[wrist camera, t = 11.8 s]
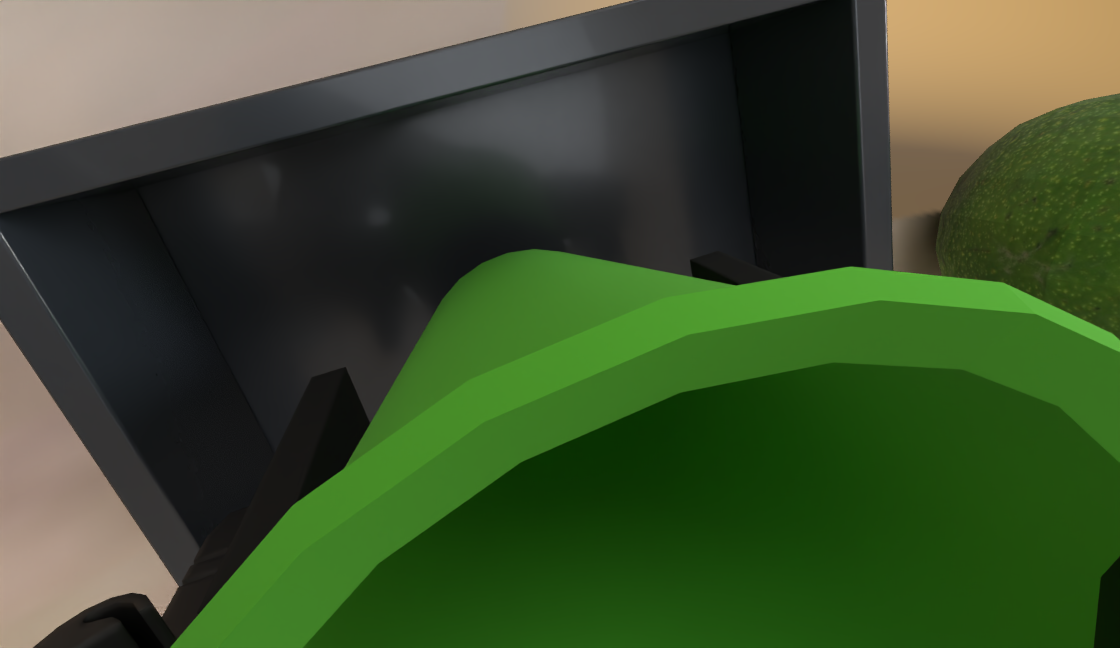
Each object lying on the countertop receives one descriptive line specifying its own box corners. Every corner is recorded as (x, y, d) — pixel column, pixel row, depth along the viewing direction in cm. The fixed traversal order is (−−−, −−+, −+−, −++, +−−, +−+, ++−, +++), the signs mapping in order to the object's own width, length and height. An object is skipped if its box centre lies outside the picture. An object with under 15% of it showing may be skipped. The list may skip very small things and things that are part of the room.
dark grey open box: (316, 567, 19) (273, 730, 14) (98, 162, 14) (-96, 181, 9) (784, 402, 21) (900, 490, 16) (739, -1, 16) (887, -63, 11)
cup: (320, 480, 14) (55, 1312, 4) (379, 117, 12) (104, 35, 2) (637, 509, 17) (948, 1076, 7) (737, 214, 15) (1450, 404, 4)
